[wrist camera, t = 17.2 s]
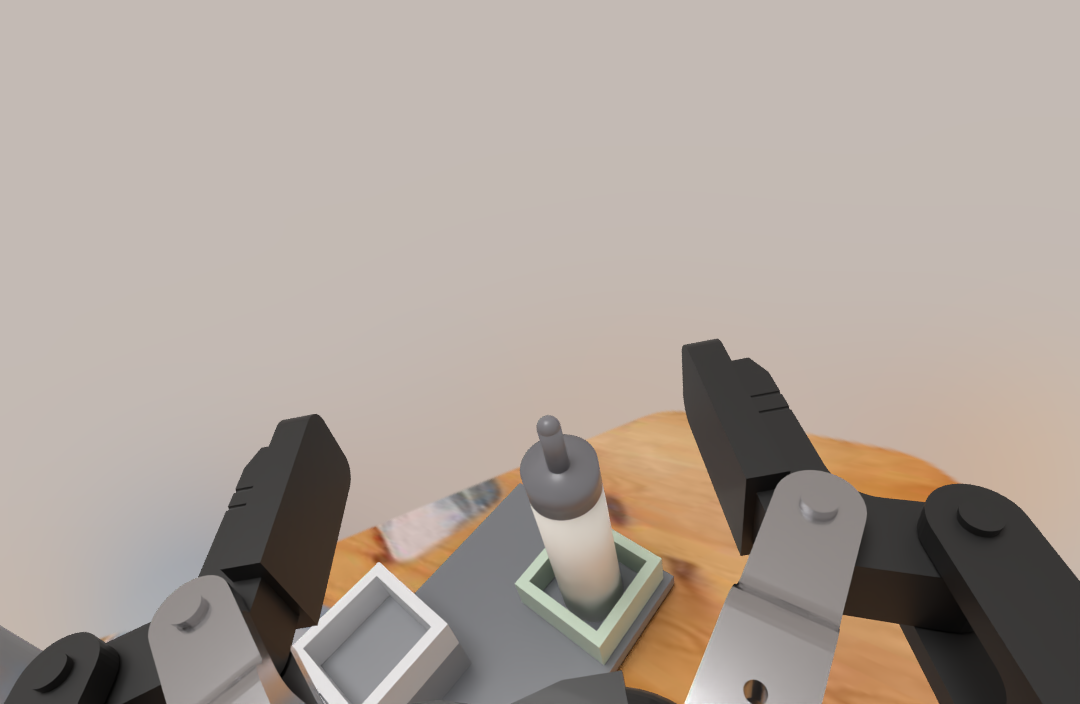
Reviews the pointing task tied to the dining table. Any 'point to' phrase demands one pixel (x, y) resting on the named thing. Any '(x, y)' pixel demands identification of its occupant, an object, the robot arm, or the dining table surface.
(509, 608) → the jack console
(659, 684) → the dining table surface
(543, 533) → the plug
